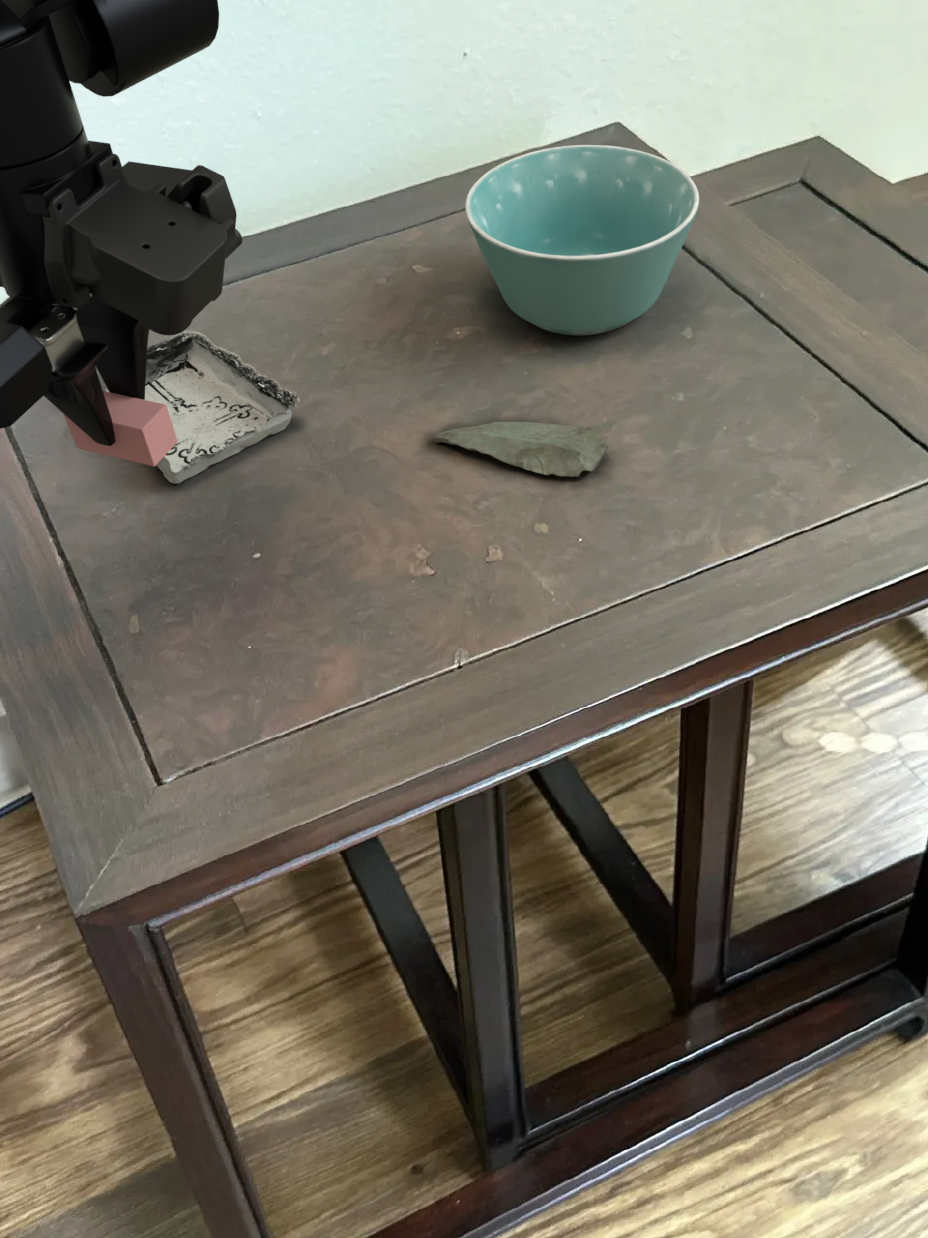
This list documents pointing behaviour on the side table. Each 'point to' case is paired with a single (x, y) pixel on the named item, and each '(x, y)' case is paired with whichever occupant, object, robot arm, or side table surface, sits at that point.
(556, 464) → the stone
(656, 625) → the side table surface
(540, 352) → the side table surface
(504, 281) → the bowl
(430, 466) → the side table surface
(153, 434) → the eraser
